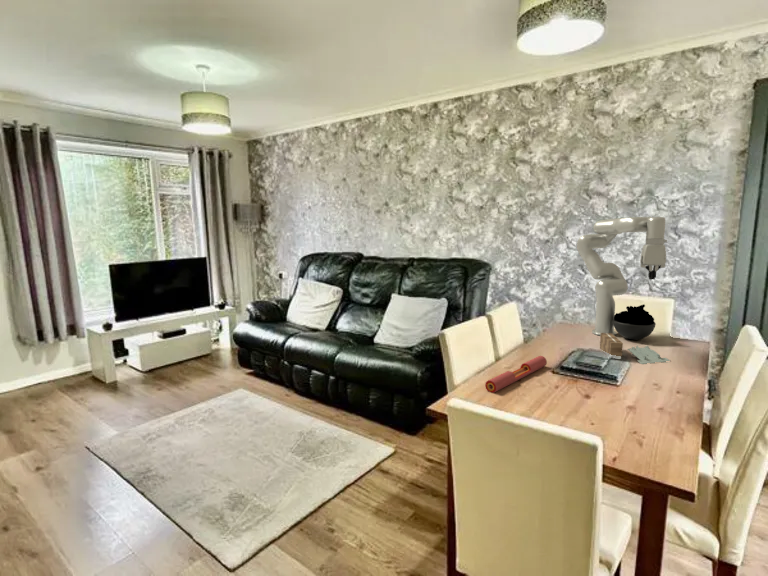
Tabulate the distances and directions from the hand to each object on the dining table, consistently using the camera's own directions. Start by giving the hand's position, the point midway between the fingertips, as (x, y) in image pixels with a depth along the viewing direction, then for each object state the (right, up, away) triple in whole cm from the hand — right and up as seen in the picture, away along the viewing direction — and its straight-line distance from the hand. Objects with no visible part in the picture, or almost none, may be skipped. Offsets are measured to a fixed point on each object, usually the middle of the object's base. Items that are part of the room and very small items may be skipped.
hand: (651, 279), depth 209 cm
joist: (-23, -37, -4) cm, 44 cm away
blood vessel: (-78, -43, -33) cm, 95 cm away
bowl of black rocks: (+2, -33, +20) cm, 38 cm away
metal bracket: (-11, -38, -13) cm, 42 cm away
